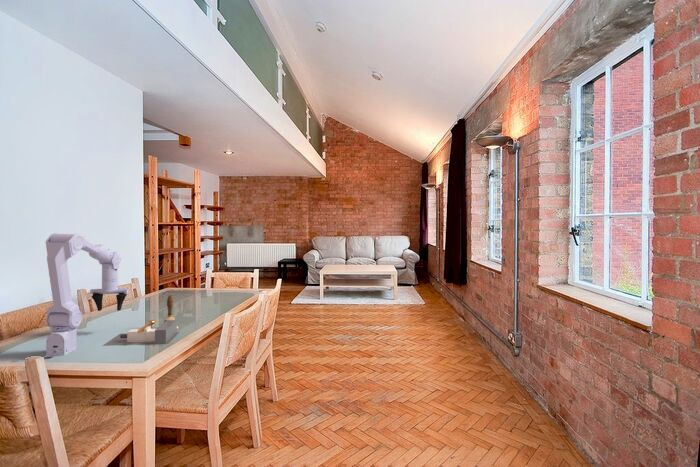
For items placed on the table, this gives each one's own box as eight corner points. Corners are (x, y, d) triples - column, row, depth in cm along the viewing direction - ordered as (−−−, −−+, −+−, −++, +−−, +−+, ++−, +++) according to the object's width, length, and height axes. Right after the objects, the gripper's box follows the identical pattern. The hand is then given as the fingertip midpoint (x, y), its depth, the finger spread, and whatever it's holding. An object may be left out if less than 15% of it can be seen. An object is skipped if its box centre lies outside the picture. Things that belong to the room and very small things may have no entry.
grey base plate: (168, 345, 147) (168, 329, 147) (102, 347, 143) (102, 331, 143) (179, 333, 163) (179, 319, 162) (120, 335, 159) (120, 320, 158)
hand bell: (183, 329, 170) (183, 294, 169) (166, 334, 162) (166, 297, 162) (172, 326, 174) (172, 292, 173) (155, 330, 167) (155, 295, 166)
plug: (164, 341, 150) (164, 328, 150) (118, 342, 147) (118, 329, 147) (168, 338, 154) (168, 325, 154) (123, 339, 151) (123, 326, 151)
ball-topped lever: (142, 332, 146) (142, 330, 146) (135, 332, 145) (135, 330, 145) (155, 322, 161) (155, 319, 161) (149, 322, 160) (149, 320, 160)
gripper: (131, 277, 167) (131, 307, 167) (95, 278, 164) (95, 308, 164) (124, 280, 160) (124, 311, 160) (87, 280, 157) (87, 312, 157)
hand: (109, 310), depth 162 cm, fingers open, 7 cm apart
